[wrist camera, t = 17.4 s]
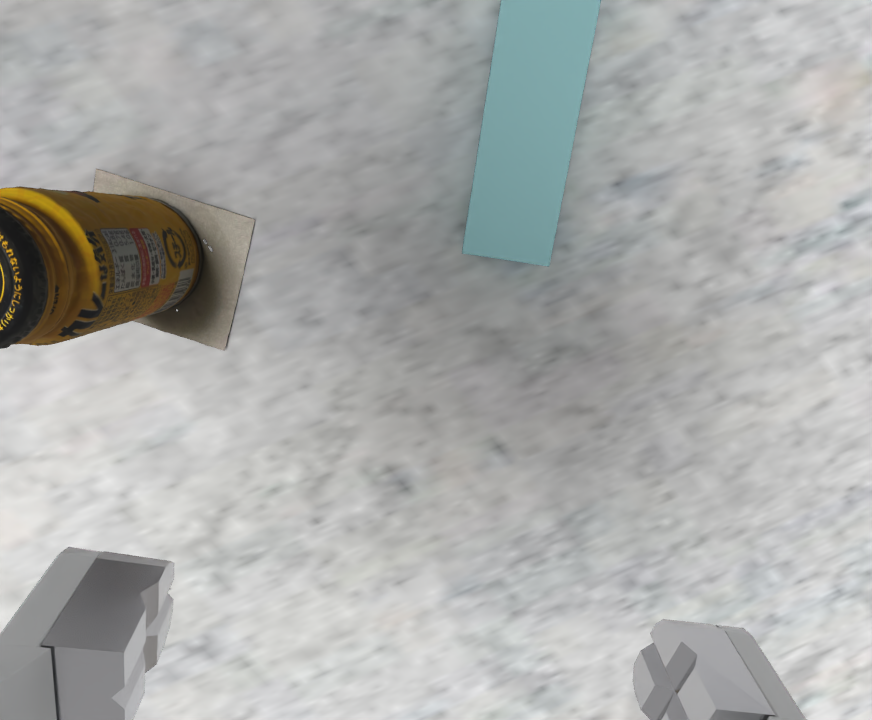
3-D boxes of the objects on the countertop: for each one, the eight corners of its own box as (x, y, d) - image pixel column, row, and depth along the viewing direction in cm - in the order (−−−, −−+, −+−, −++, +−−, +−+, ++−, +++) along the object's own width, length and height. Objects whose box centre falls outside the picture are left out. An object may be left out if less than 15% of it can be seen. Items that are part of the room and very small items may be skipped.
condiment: (98, 169, 29) (-143, 137, 18) (256, 219, 30) (121, 221, 18) (78, 302, 31) (-152, 353, 20) (227, 349, 31) (87, 427, 20)
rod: (538, 260, 30) (549, 266, 26) (462, 248, 30) (462, 253, 26) (636, -258, 24) (668, -349, 20) (543, -271, 24) (558, -364, 20)
